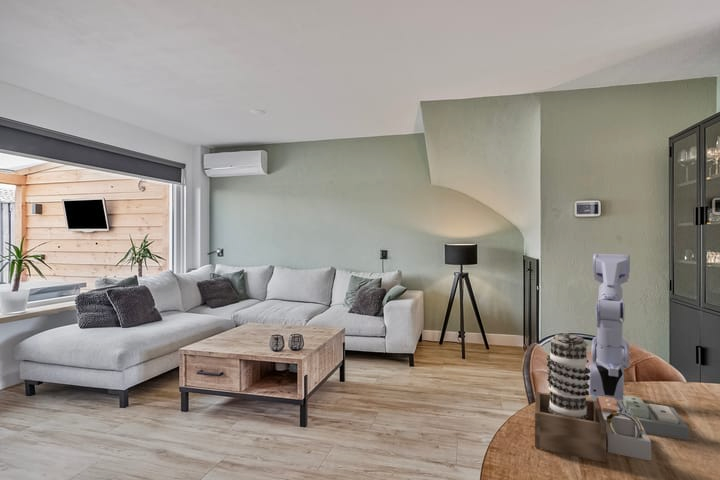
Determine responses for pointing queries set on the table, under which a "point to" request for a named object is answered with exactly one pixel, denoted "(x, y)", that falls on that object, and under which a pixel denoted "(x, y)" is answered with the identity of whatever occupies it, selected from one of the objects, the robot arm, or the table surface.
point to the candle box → (570, 431)
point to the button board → (658, 423)
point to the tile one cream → (663, 413)
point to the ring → (627, 414)
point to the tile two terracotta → (607, 404)
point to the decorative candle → (568, 376)
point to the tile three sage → (636, 406)
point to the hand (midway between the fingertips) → (608, 394)
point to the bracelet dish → (627, 439)
